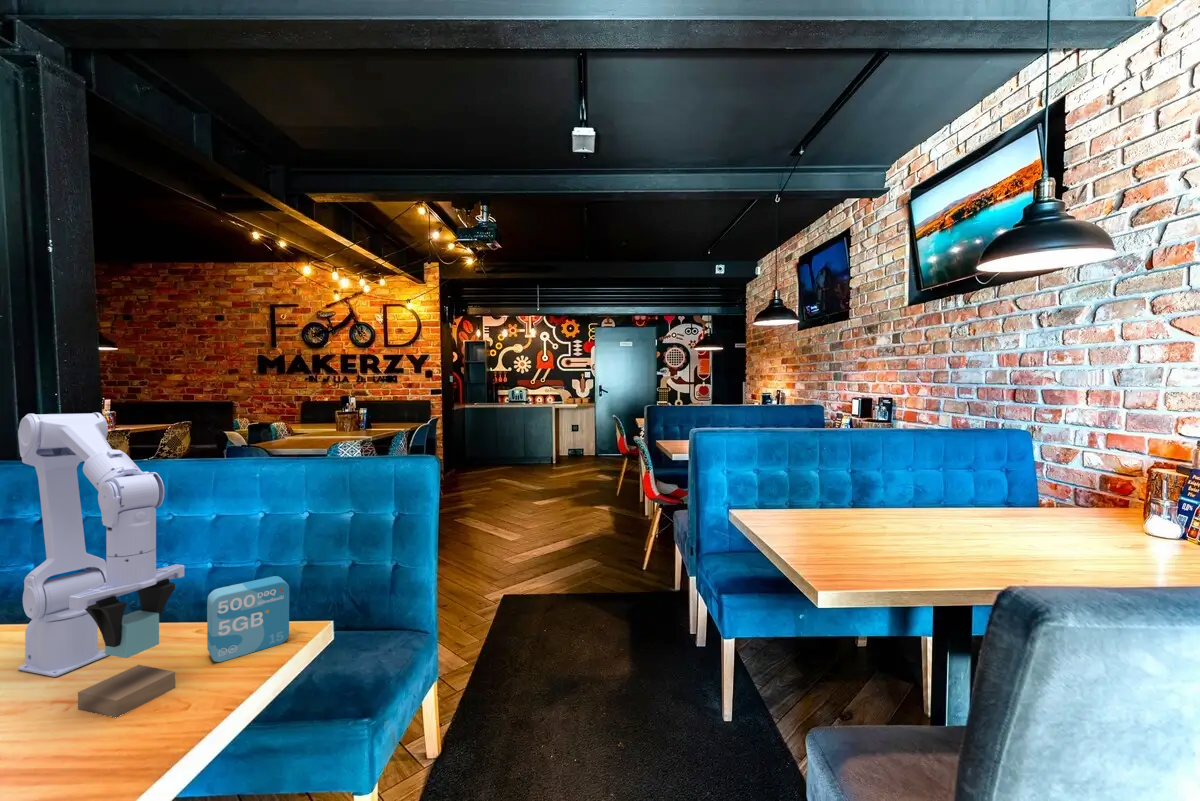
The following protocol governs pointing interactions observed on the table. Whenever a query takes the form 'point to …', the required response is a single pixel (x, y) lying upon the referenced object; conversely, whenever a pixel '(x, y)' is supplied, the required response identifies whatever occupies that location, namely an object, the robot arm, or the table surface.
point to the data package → (247, 618)
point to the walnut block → (126, 691)
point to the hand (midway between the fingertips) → (131, 637)
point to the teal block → (136, 634)
